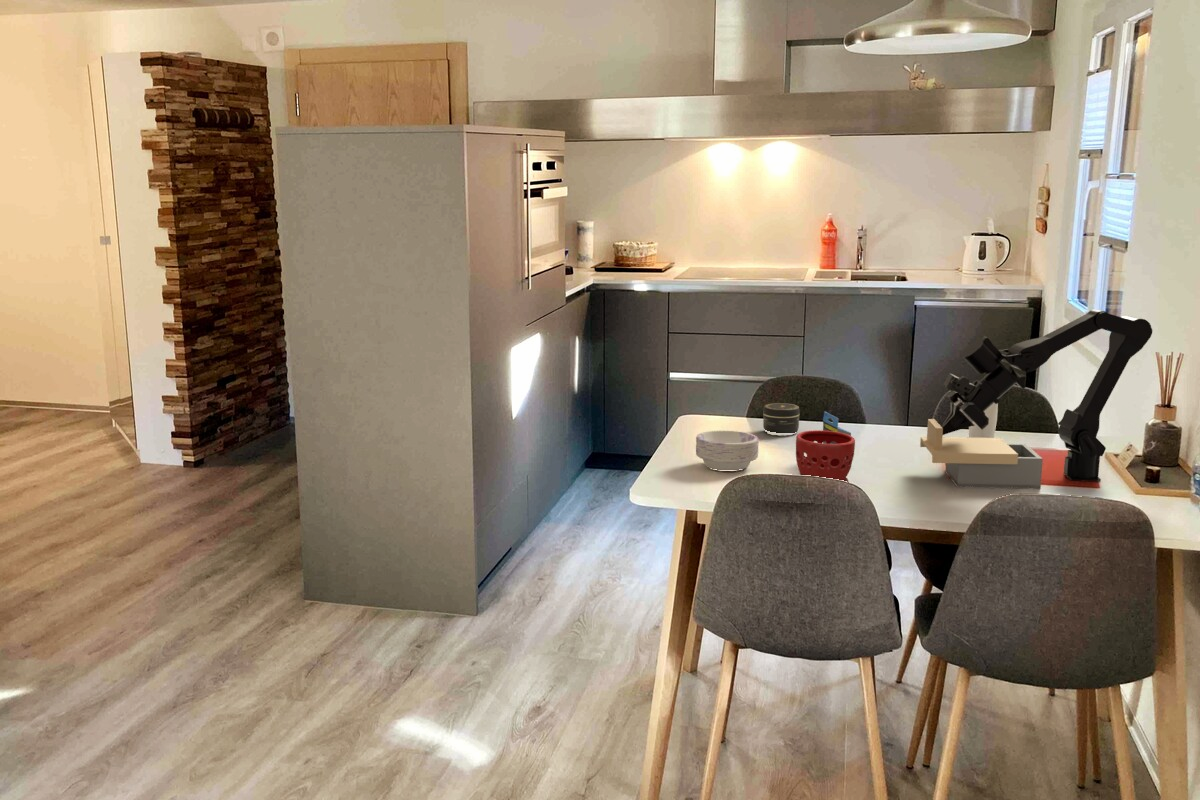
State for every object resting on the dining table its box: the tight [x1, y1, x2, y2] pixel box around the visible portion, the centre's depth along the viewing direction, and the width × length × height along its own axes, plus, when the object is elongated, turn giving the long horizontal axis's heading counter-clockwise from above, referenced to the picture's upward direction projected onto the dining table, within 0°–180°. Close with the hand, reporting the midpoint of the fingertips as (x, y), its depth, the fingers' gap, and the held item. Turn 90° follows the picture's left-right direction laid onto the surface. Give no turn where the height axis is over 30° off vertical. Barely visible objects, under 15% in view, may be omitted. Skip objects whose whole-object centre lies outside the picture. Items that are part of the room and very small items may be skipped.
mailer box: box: [944, 443, 1043, 490], centre depth 244 cm, size 18×14×7 cm
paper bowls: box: [695, 429, 760, 470], centre depth 258 cm, size 15×15×8 cm
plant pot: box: [795, 429, 856, 483], centre depth 240 cm, size 13×13×12 cm
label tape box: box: [822, 411, 852, 460], centre depth 261 cm, size 9×4×12 cm, turn 12°
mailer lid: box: [919, 418, 1018, 464], centre depth 244 cm, size 18×16×7 cm
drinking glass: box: [968, 402, 999, 438], centre depth 263 cm, size 7×7×15 cm
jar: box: [762, 402, 800, 433], centre depth 295 cm, size 10×10×8 cm
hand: (939, 433), depth 244 cm, fingers closed, pressing on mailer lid
